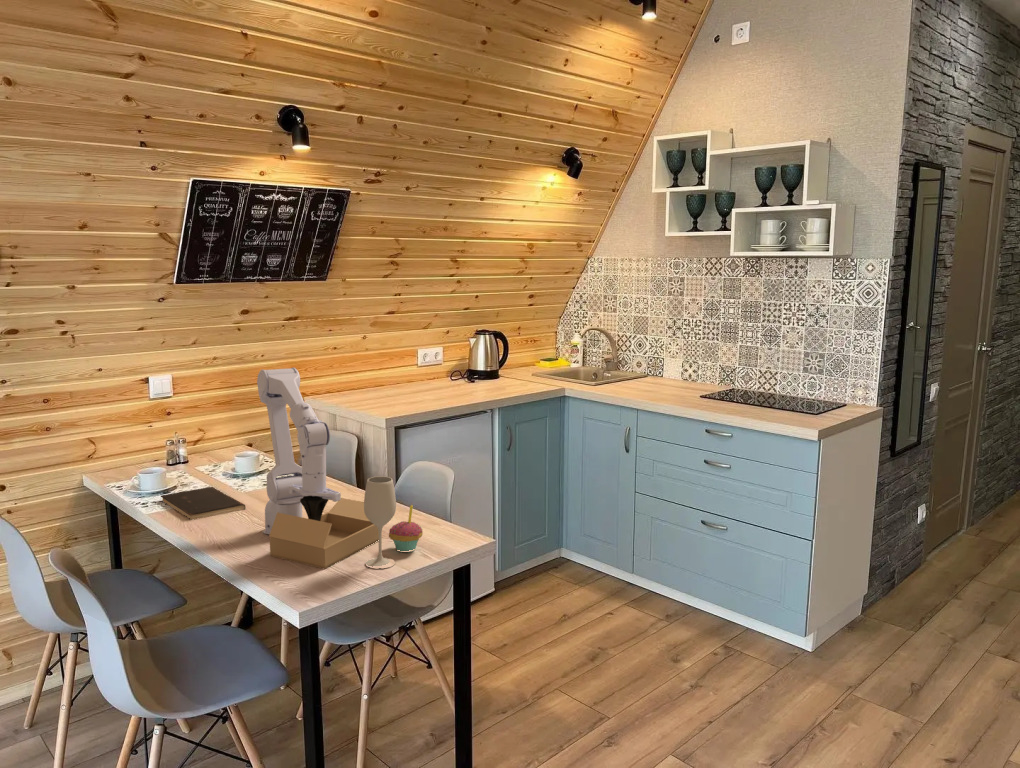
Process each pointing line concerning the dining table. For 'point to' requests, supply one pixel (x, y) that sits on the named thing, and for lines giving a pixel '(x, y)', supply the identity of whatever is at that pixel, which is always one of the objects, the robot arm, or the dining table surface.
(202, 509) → the hardcover book
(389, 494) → the wineglass
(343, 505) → the flap
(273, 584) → the dining table surface
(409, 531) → the cupcake
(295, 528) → the flap
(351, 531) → the carton
